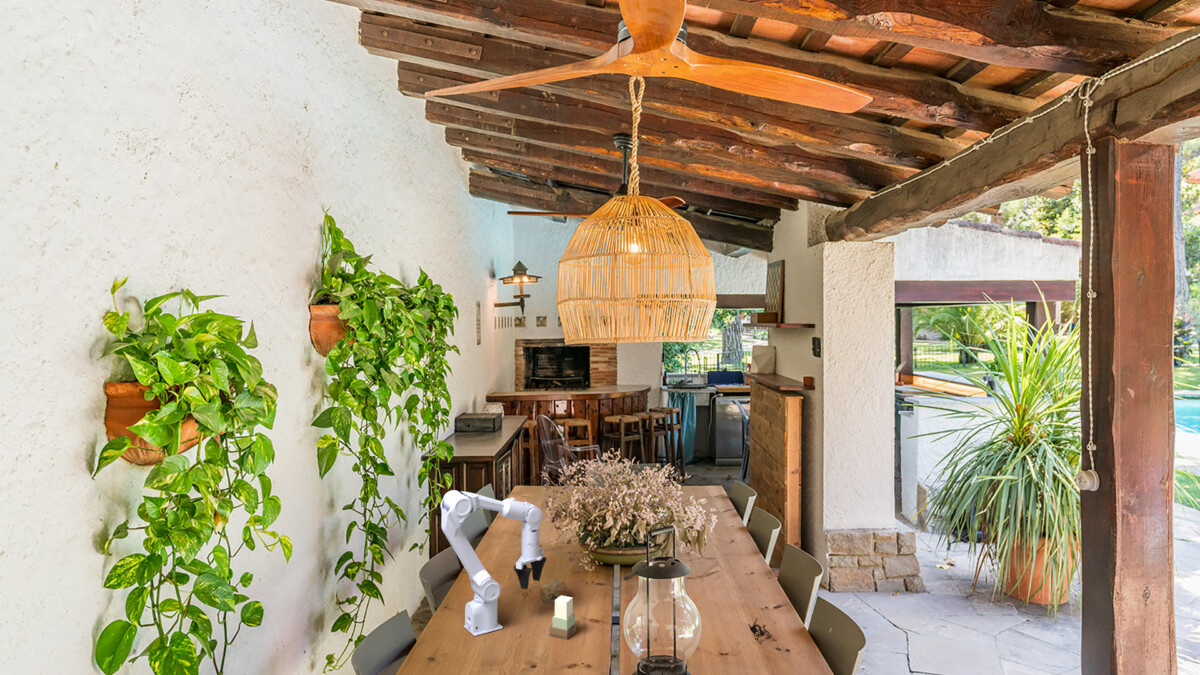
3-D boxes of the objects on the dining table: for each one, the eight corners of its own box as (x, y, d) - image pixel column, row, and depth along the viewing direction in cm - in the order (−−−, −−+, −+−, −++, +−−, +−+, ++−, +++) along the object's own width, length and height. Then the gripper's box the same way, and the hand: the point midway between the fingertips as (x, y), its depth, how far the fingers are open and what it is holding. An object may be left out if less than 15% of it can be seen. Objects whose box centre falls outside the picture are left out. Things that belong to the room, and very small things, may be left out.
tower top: (566, 630, 196) (566, 620, 196) (552, 626, 198) (552, 616, 198) (575, 623, 200) (575, 613, 200) (560, 620, 203) (560, 610, 203)
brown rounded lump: (541, 612, 223) (543, 595, 220) (537, 589, 232) (539, 572, 229) (570, 609, 226) (572, 592, 222) (564, 587, 235) (566, 570, 231)
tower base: (566, 640, 196) (567, 630, 196) (549, 636, 198) (549, 626, 198) (576, 632, 201) (576, 622, 201) (558, 628, 203) (558, 619, 203)
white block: (566, 619, 197) (566, 602, 197) (554, 616, 198) (554, 600, 198) (572, 614, 200) (572, 597, 200) (561, 611, 202) (561, 595, 202)
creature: (778, 641, 198) (754, 628, 203) (782, 625, 197) (758, 612, 202) (766, 651, 192) (742, 637, 197) (770, 634, 191) (746, 620, 196)
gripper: (529, 550, 203) (529, 594, 203) (552, 537, 216) (552, 578, 216) (510, 547, 206) (510, 590, 206) (533, 534, 219) (533, 575, 219)
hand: (530, 584), depth 211 cm, fingers open, 7 cm apart
